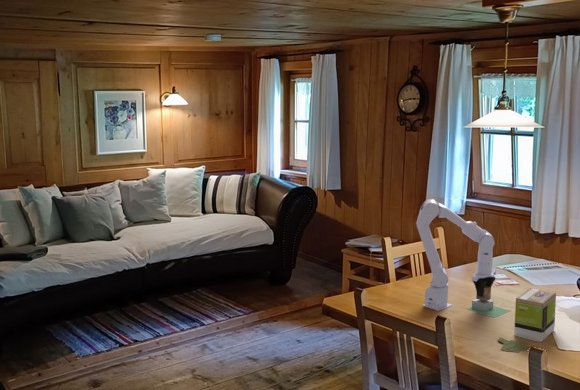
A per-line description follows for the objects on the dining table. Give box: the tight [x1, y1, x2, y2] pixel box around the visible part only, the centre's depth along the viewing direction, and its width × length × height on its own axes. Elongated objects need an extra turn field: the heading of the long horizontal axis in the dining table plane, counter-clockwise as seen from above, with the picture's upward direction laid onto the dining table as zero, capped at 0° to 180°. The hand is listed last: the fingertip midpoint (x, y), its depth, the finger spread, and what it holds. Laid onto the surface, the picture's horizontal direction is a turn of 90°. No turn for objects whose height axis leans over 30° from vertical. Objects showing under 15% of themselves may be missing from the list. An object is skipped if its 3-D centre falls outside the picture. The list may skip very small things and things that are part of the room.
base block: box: [471, 298, 494, 311], centre depth 259 cm, size 6×6×3 cm
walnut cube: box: [475, 286, 492, 301], centre depth 258 cm, size 4×4×5 cm
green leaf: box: [497, 337, 531, 354], centre depth 218 cm, size 11×18×1 cm, turn 36°
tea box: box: [513, 287, 557, 343], centre depth 232 cm, size 15×10×15 cm
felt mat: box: [466, 305, 511, 319], centre depth 257 cm, size 12×13×1 cm
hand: (483, 294), depth 258 cm, fingers closed on walnut cube, 4 cm apart
